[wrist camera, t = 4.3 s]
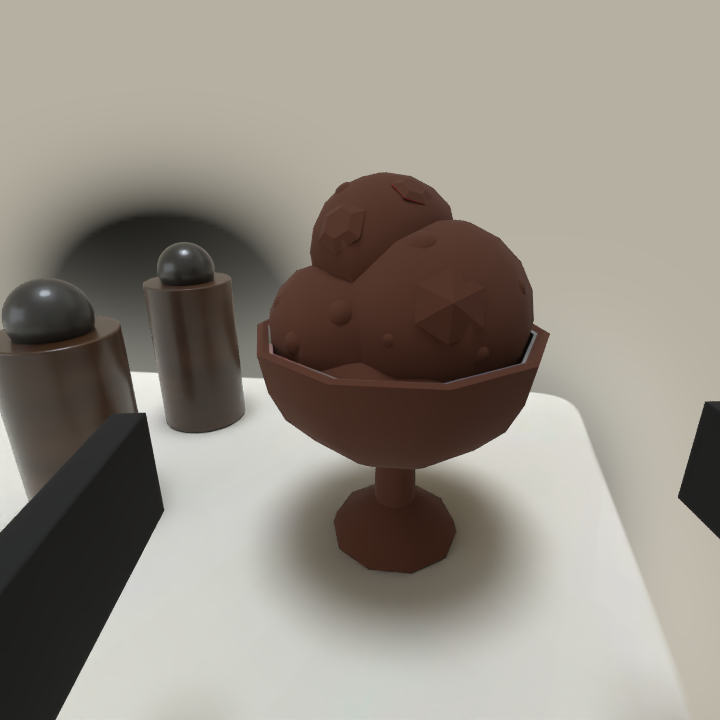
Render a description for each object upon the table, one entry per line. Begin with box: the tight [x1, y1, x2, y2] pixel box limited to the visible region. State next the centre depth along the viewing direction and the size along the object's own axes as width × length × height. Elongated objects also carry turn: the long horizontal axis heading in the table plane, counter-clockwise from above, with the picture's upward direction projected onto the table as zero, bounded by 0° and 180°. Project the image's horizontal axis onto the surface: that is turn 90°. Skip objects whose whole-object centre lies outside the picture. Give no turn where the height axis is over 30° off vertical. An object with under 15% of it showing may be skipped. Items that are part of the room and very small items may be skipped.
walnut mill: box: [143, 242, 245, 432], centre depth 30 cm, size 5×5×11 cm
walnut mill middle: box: [0, 278, 138, 501], centre depth 21 cm, size 5×5×11 cm
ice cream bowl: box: [257, 172, 550, 573], centre depth 19 cm, size 11×11×15 cm
